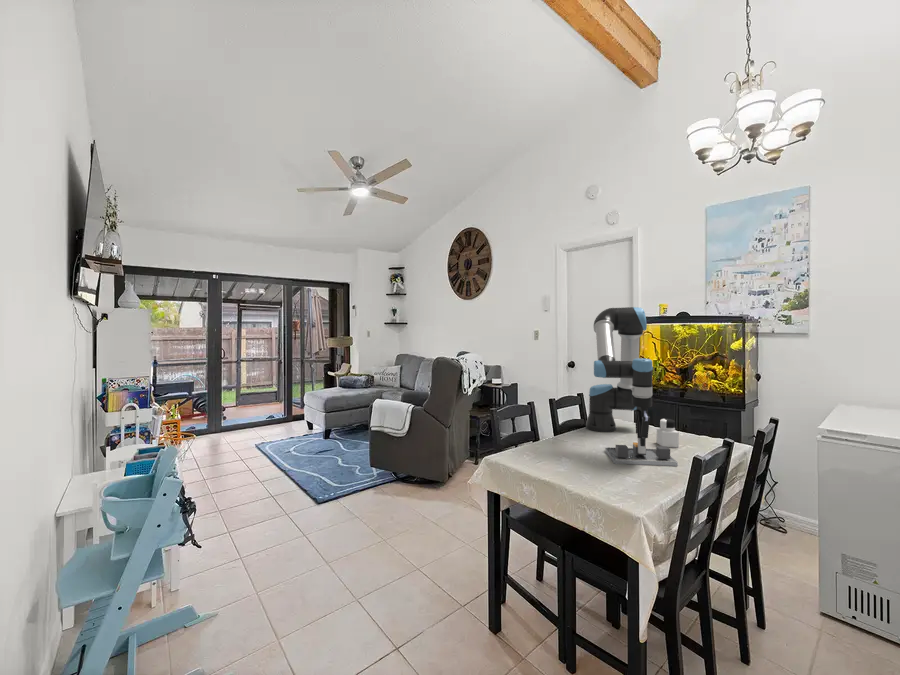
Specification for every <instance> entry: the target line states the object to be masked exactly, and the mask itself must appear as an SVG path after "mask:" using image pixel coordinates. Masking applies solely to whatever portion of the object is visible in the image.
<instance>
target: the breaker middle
mask: <svg viewBox="0 0 900 675" xmlns="http://www.w3.org/2000/svg"><path fill="white" fill-rule="evenodd" d="M632 448H633V452H634V454H635V455H646V454H639V453H638V442H632Z"/></svg>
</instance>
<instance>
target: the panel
mask: <svg viewBox="0 0 900 675" xmlns="http://www.w3.org/2000/svg"><path fill="white" fill-rule="evenodd" d="M604 451H605V453H606V454H607V456H608V457H609V459H610V460H611V461H612V463H613V464H615V465H635V466H636V465H642V466H643V465H644V466H667V467H678V466H679V465H678V462H677V461H676V459H674V458H673V457H672V456H671V455H670V459H659V458H658V457H657V456H656V448H646V455H635V454H634V452H633V447H628V458H623V457H617V455H616V447H604Z"/></svg>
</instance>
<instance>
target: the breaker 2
mask: <svg viewBox="0 0 900 675" xmlns="http://www.w3.org/2000/svg"><path fill="white" fill-rule="evenodd" d="M655 449H656V456H657V457H658V458H659V459H670V456H671V449H670V447H667V446H660V445H656V446H655Z"/></svg>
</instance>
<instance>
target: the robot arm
mask: <svg viewBox="0 0 900 675" xmlns="http://www.w3.org/2000/svg"><path fill="white" fill-rule="evenodd" d="M645 312H646V311H645V310H644V309H643V308H642V307H636V306H631V307H630V306H629V307H610V308H606V309H604V310H602V311H601V312H600V313H598V315H597V316H596V317H595V319H594V322H593V331H594V332H595V334H596V336H595V338H596V352H597V353H596V354H597V360H594V361H593V375H594V377H595V378H603V379H619V380H620V381H618V383H617V385H616V387H614V386H613V385H612V384H610V383H609V384H607V383H603V384H596V385H592V386H590V388H589V392H588V393H589V394H588V396H589V397H588V398H589V405H588V406H589V407H588V409H589V411H588V416H587V420H586V421H585V428H586V429H587V428H588V429H587V430H589V431H594V432H600V433H601V432H603V433H605V432H607V433H608V432H614V431H616V430H617V425H616V421H615V418H614V416H613V411H617V410H618V411H631V412H632V411H633V412H634V421H635V424H634V425H635V434H636V436H637V443H638V453H639V454H646V449H647V446H646V445H647V439H649V429H650V428H649V427H650V421H651V416H649V411H648V408H651V407H653V370H654V366H653V360H652V359H650V358H642V357H640V338H641V337H642V336H643V334H644V332H645V331H647V329H648V328H647V326H648V325H647V318H646V313H645ZM614 331H617V335H619V336H620V360H616V353H615V344H614V343H615V342H614V334H613V332H614Z"/></svg>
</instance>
